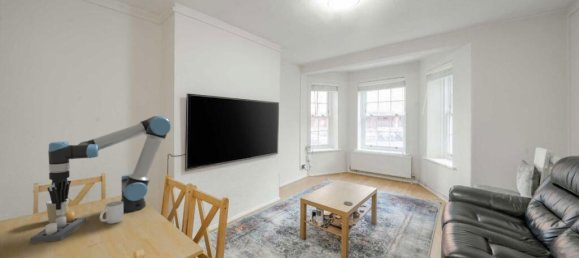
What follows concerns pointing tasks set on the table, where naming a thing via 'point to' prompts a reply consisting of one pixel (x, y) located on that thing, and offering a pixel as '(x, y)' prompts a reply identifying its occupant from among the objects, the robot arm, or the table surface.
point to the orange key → (70, 216)
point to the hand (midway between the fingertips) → (60, 214)
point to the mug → (113, 212)
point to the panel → (59, 231)
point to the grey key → (61, 222)
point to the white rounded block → (51, 229)
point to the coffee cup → (52, 210)
